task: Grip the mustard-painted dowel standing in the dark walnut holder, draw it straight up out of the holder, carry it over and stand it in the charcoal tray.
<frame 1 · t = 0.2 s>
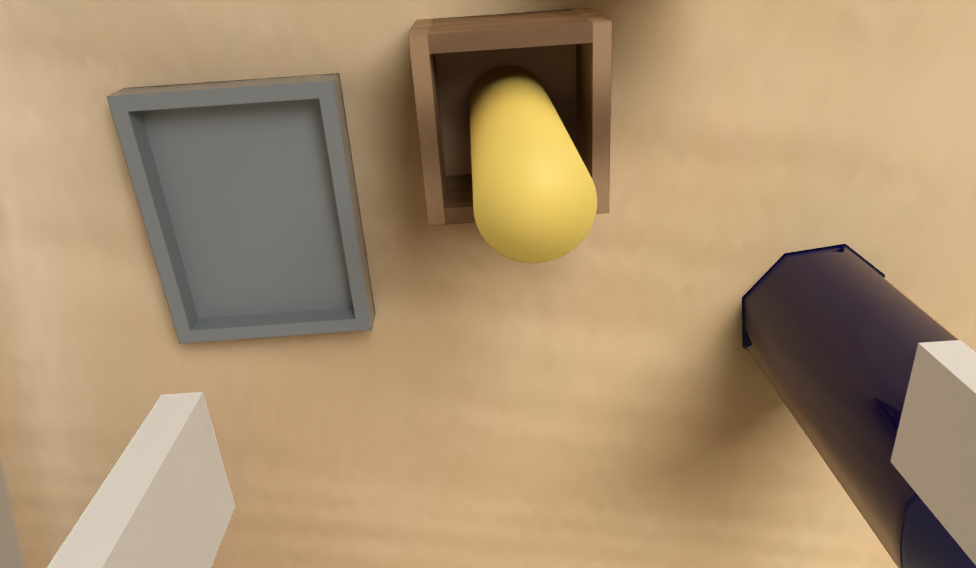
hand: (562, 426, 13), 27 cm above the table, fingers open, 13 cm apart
bottle: (810, 310, 44), on the table
dowel: (508, 105, 36), point 1 cm above the table, touching holder
holder: (507, 101, 37), on the table
tray: (259, 209, 40), on the table
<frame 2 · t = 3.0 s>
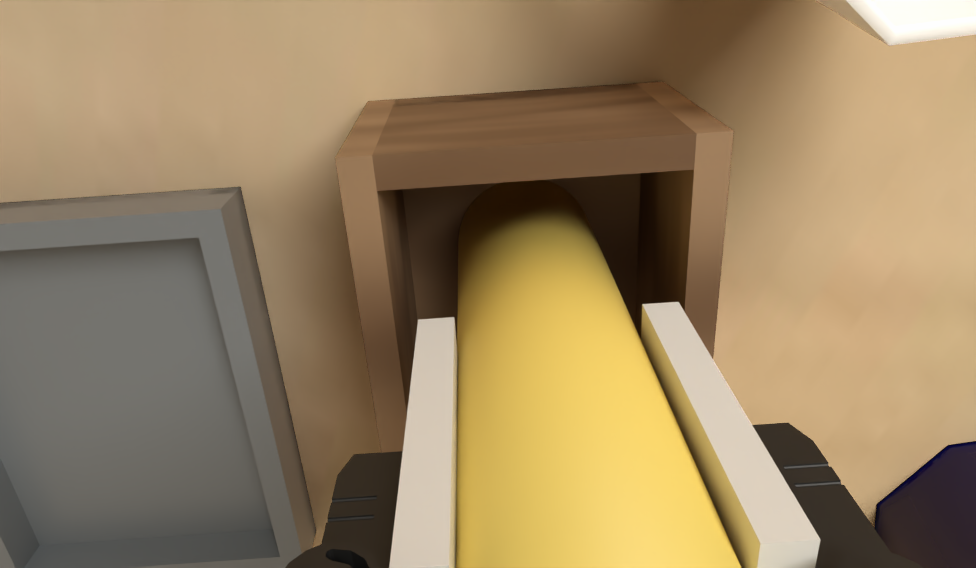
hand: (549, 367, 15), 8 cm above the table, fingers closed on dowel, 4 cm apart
dowel: (524, 240, 22), point 1 cm above the table, touching gripper, holder
holder: (521, 229, 23), on the table
tray: (124, 390, 25), on the table
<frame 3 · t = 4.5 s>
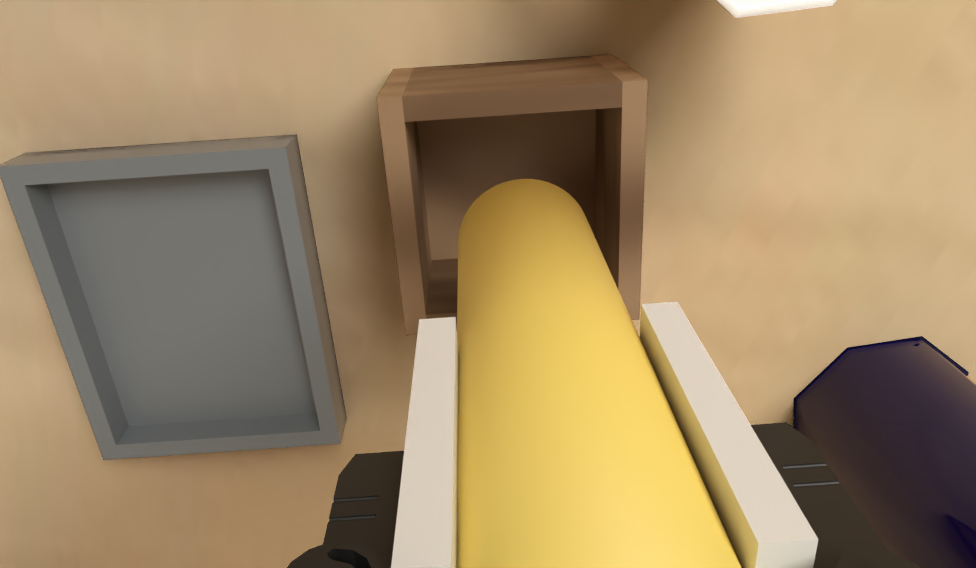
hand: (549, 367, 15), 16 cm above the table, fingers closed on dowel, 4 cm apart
bottle: (876, 412, 36), on the table
dowel: (524, 242, 22), point 9 cm above the table, touching gripper
holder: (507, 168, 30), on the table
tray: (201, 297, 32), on the table
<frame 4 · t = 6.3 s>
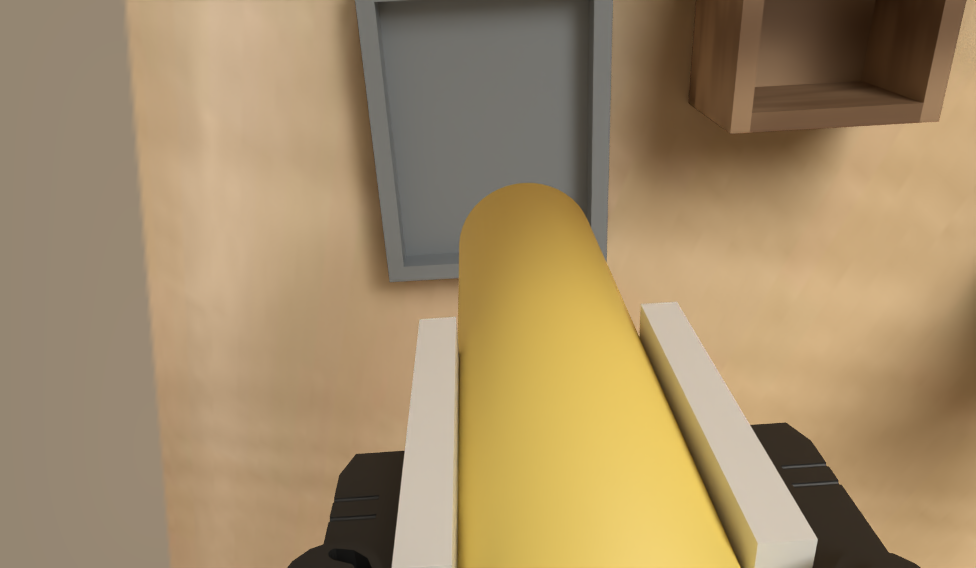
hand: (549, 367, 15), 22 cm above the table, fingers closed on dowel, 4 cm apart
dowel: (525, 246, 21), point 15 cm above the table, touching gripper
holder: (788, 3, 33), on the table
tray: (490, 129, 35), on the table
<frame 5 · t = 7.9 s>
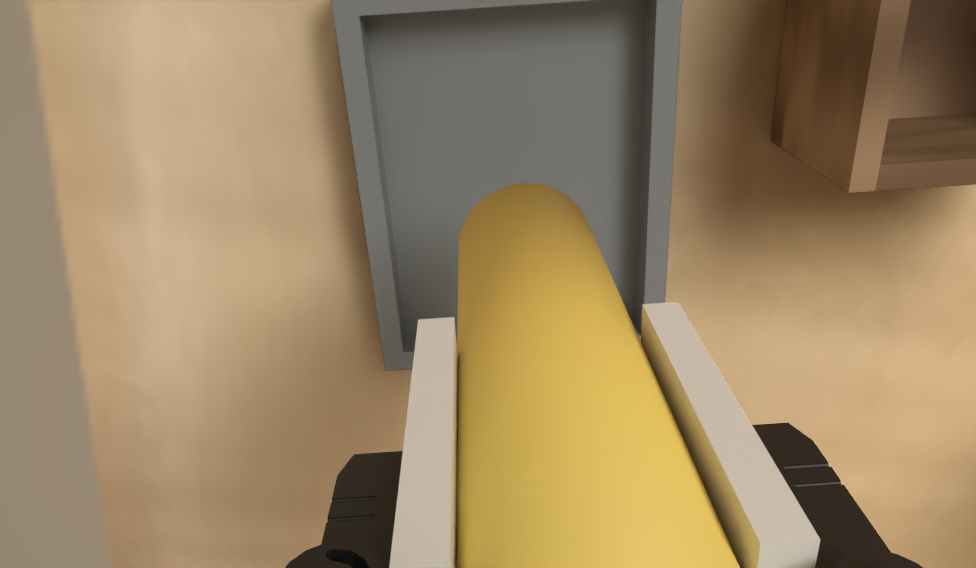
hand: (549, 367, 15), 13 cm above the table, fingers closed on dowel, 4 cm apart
dowel: (525, 247, 21), point 6 cm above the table, touching gripper
holder: (908, 10, 25), on the table
tray: (512, 176, 27), on the table
when the fingers open (9 cm above the table, at t = 9.4 s): dowel drops 2 cm, resting on tray.
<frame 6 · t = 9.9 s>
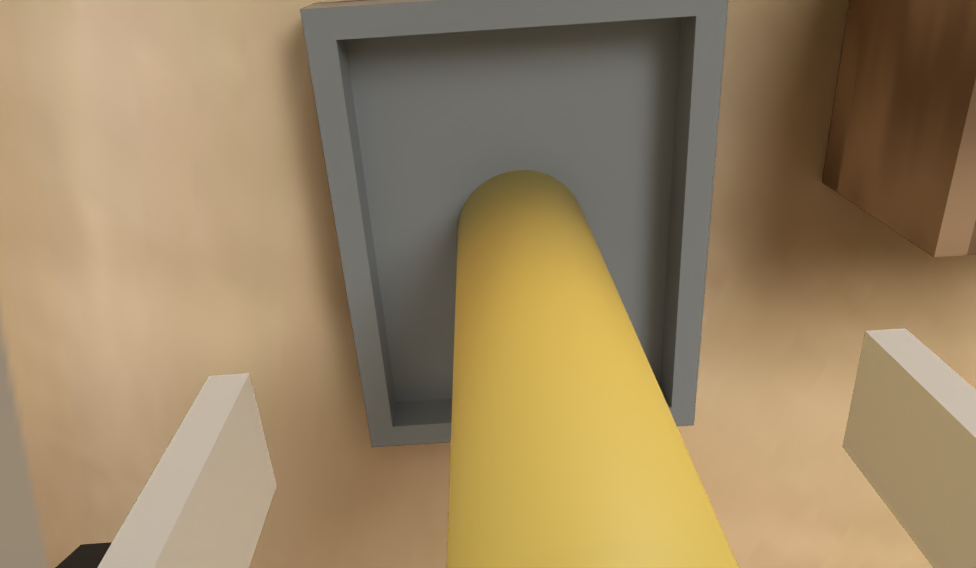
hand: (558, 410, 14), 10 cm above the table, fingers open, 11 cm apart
dowel: (521, 231, 23), point 1 cm above the table, touching tray
tray: (520, 223, 23), on the table
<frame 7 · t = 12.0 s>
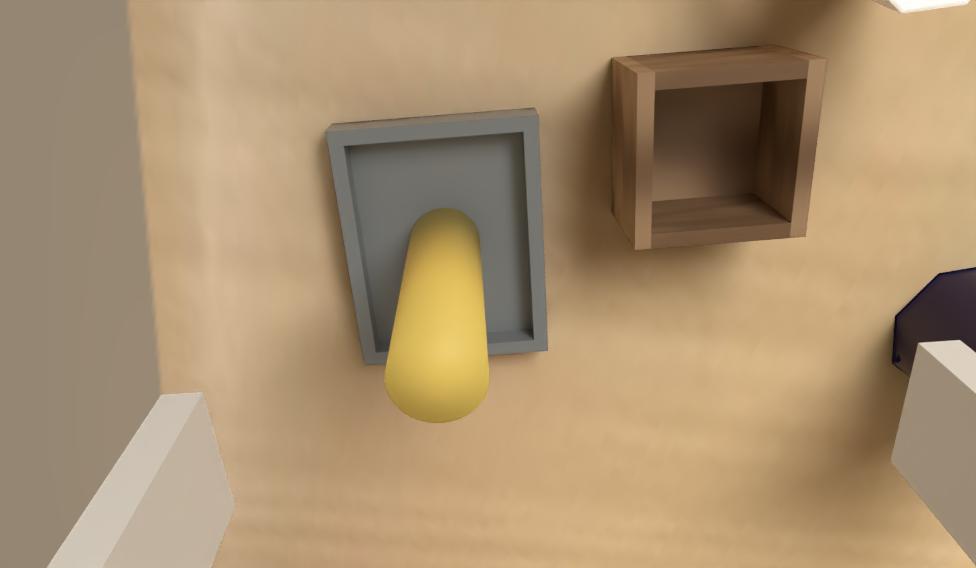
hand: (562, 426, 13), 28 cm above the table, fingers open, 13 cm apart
bottle: (958, 327, 46), on the table
dowel: (445, 241, 41), point 1 cm above the table, touching tray
holder: (689, 132, 39), on the table
tray: (445, 236, 41), on the table
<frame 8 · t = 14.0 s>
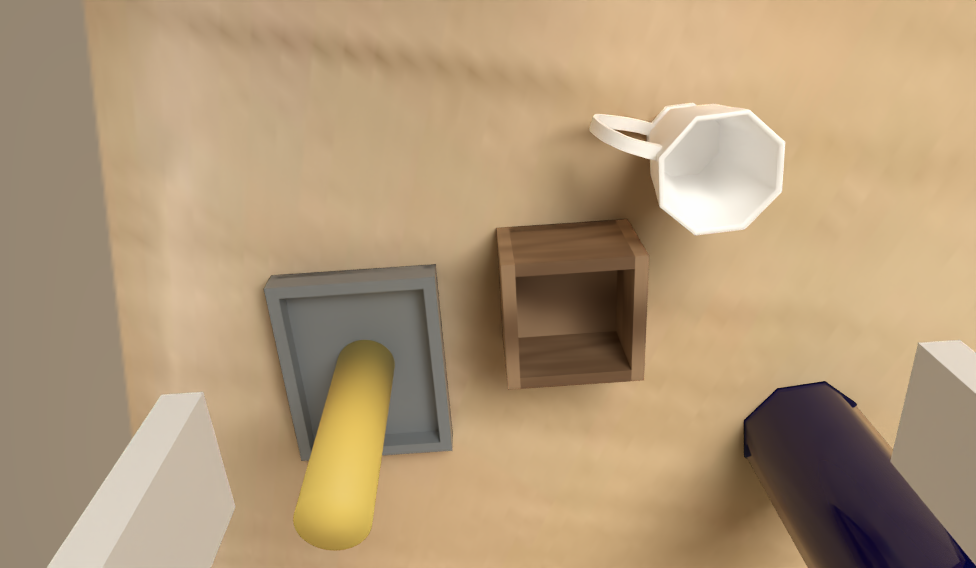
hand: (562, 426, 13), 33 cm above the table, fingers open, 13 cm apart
bottle: (798, 429, 55), on the table
dowel: (366, 364, 50), point 1 cm above the table, touching tray
cup: (656, 130, 44), on the table
holder: (562, 282, 49), on the table
tray: (367, 359, 51), on the table
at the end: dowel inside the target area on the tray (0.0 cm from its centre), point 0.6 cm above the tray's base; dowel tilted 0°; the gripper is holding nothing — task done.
